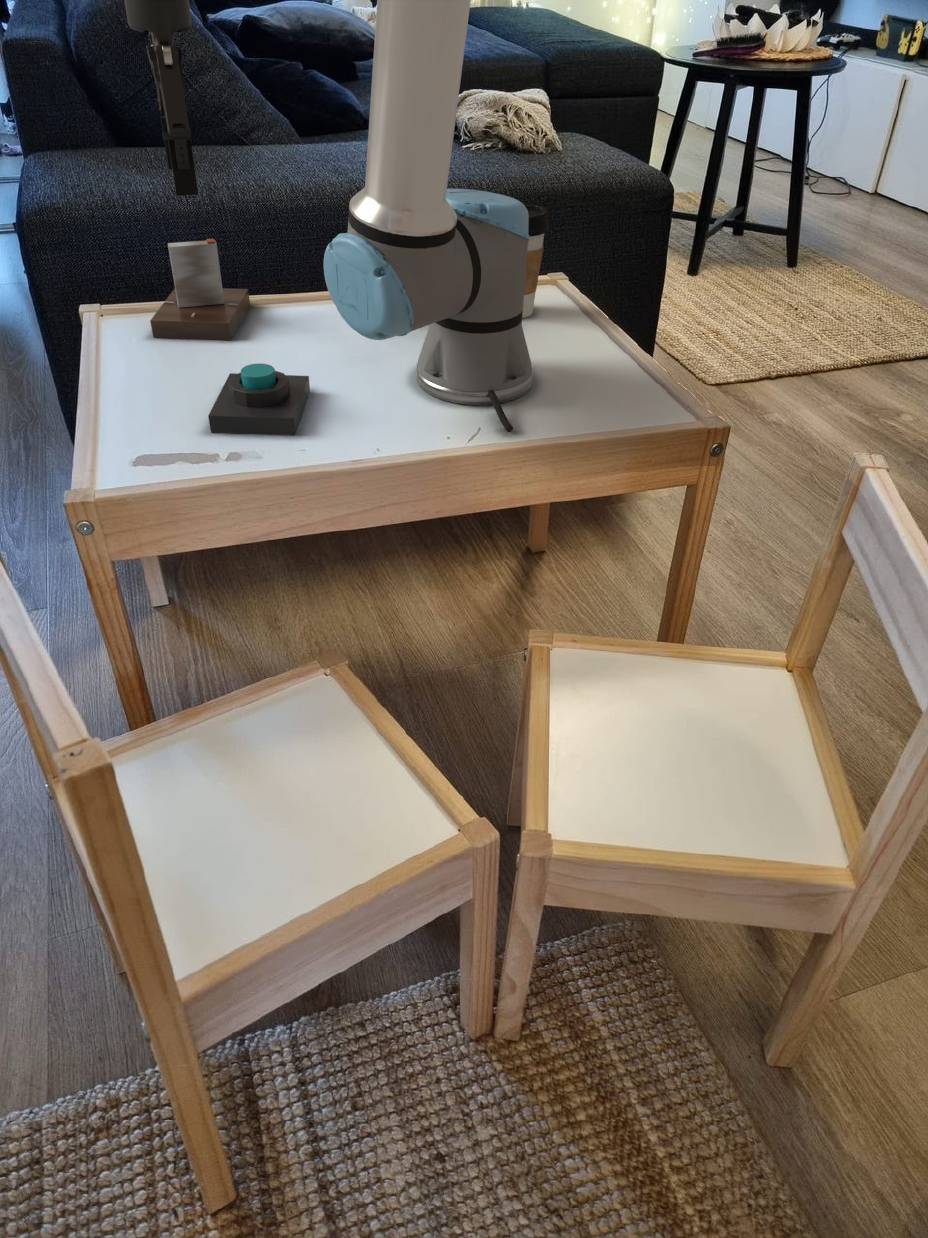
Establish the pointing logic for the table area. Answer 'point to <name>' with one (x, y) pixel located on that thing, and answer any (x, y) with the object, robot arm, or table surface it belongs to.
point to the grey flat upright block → (196, 273)
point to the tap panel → (201, 318)
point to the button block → (260, 406)
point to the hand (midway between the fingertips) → (182, 181)
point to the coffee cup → (534, 254)
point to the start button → (258, 376)
